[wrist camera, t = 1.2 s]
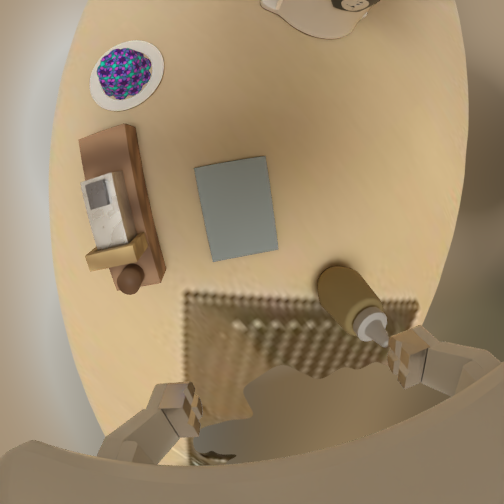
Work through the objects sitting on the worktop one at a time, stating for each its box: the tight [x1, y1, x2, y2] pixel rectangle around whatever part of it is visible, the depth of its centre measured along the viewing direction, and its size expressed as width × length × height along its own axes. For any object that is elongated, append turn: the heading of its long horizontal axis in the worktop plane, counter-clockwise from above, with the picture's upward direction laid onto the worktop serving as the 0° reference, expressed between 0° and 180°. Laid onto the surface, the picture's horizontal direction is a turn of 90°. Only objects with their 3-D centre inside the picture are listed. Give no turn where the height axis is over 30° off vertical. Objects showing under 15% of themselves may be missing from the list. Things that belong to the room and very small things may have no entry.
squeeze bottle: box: [318, 266, 389, 347], centre depth 37 cm, size 8×8×18 cm
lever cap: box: [81, 171, 137, 251], centre depth 30 cm, size 10×4×5 cm, turn 9°
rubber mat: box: [194, 156, 278, 262], centre depth 39 cm, size 14×10×1 cm
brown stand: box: [79, 124, 166, 295], centre depth 32 cm, size 22×7×11 cm, turn 9°
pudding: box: [90, 40, 164, 111], centre depth 28 cm, size 12×12×5 cm
